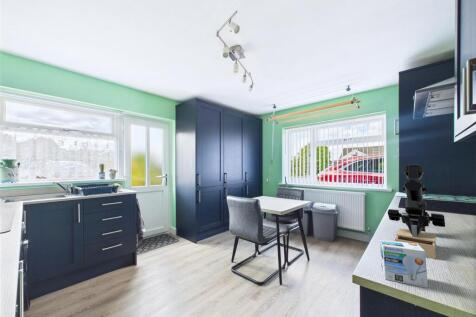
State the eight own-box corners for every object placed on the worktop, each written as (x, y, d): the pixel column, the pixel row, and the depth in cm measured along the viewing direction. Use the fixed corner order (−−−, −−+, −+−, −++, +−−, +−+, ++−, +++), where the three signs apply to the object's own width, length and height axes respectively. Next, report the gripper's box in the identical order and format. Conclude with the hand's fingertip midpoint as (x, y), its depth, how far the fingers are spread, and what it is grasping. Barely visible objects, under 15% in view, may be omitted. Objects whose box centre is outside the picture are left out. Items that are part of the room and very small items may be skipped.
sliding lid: (400, 229, 95) (399, 218, 96) (436, 234, 86) (435, 223, 87) (396, 235, 87) (395, 224, 87) (435, 242, 78) (434, 229, 78)
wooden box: (400, 242, 92) (399, 232, 92) (436, 249, 83) (435, 238, 83) (396, 250, 83) (395, 238, 84) (435, 259, 75) (434, 246, 75)
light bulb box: (384, 280, 62) (382, 245, 63) (381, 270, 68) (378, 238, 69) (429, 288, 57) (426, 251, 58) (421, 277, 63) (418, 243, 64)
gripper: (386, 192, 94) (383, 219, 86) (442, 194, 81) (445, 227, 72) (390, 206, 99) (388, 233, 91) (443, 210, 86) (446, 243, 77)
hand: (414, 234), depth 83 cm, fingers closed on sliding lid, 2 cm apart
